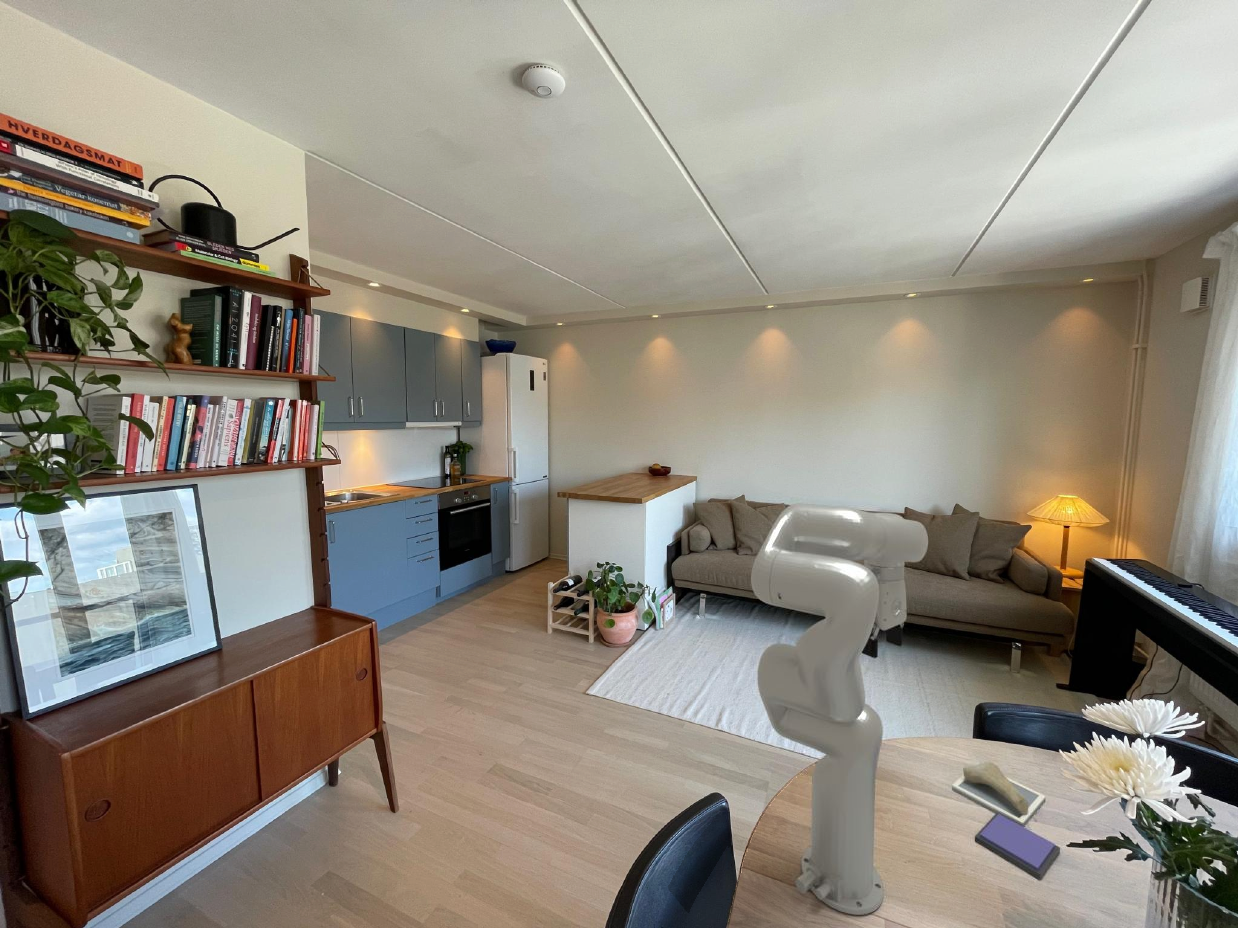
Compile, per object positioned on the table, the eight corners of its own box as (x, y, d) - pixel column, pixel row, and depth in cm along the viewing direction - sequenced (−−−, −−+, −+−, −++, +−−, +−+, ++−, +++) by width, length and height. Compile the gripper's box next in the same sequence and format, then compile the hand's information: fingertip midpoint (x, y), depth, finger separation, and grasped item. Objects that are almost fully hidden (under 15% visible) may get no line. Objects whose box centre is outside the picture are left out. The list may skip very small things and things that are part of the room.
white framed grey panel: (1022, 827, 93) (1022, 822, 93) (951, 789, 103) (952, 784, 103) (1045, 800, 99) (1045, 795, 99) (976, 767, 109) (977, 762, 109)
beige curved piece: (959, 778, 104) (961, 756, 104) (978, 773, 107) (981, 751, 107) (1019, 816, 94) (1021, 791, 94) (1039, 810, 96) (1041, 785, 96)
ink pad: (1040, 880, 82) (1040, 871, 82) (974, 840, 90) (975, 833, 90) (1059, 852, 87) (1060, 844, 87) (996, 817, 95) (996, 810, 95)
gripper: (879, 583, 97) (877, 667, 98) (922, 568, 106) (920, 645, 107) (843, 574, 103) (842, 653, 104) (887, 561, 112) (886, 633, 113)
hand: (882, 649), depth 106 cm, fingers open, 9 cm apart
